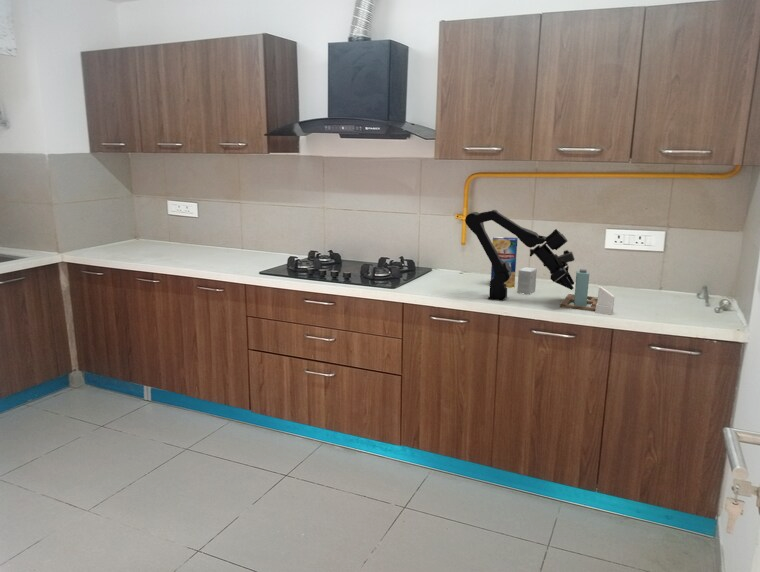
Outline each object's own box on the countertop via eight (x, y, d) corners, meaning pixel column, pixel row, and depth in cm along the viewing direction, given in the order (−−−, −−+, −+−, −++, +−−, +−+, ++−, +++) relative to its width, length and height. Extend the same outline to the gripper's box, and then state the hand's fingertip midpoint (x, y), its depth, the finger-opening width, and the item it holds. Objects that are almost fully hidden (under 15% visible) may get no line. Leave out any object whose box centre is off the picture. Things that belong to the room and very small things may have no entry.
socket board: (559, 307, 232) (559, 302, 232) (568, 296, 249) (568, 292, 248) (596, 311, 226) (596, 307, 226) (602, 300, 242) (603, 296, 242)
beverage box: (491, 282, 273) (493, 236, 268) (514, 284, 271) (517, 237, 266) (490, 286, 267) (492, 239, 262) (514, 287, 264) (517, 240, 259)
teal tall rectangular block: (574, 307, 232) (577, 270, 229) (573, 304, 237) (576, 268, 233) (586, 307, 231) (589, 271, 228) (585, 304, 236) (588, 269, 232)
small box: (523, 289, 261) (524, 266, 258) (535, 291, 258) (537, 268, 255) (516, 293, 254) (518, 269, 252) (529, 295, 251) (530, 271, 249)
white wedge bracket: (586, 302, 229) (599, 285, 225) (608, 318, 226) (622, 301, 222) (584, 304, 227) (597, 287, 222) (606, 320, 223) (620, 303, 219)
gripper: (562, 248, 223) (589, 279, 222) (564, 241, 240) (589, 269, 239) (539, 266, 227) (565, 296, 226) (543, 258, 244) (567, 286, 243)
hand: (573, 286), depth 233 cm, fingers open, 9 cm apart
